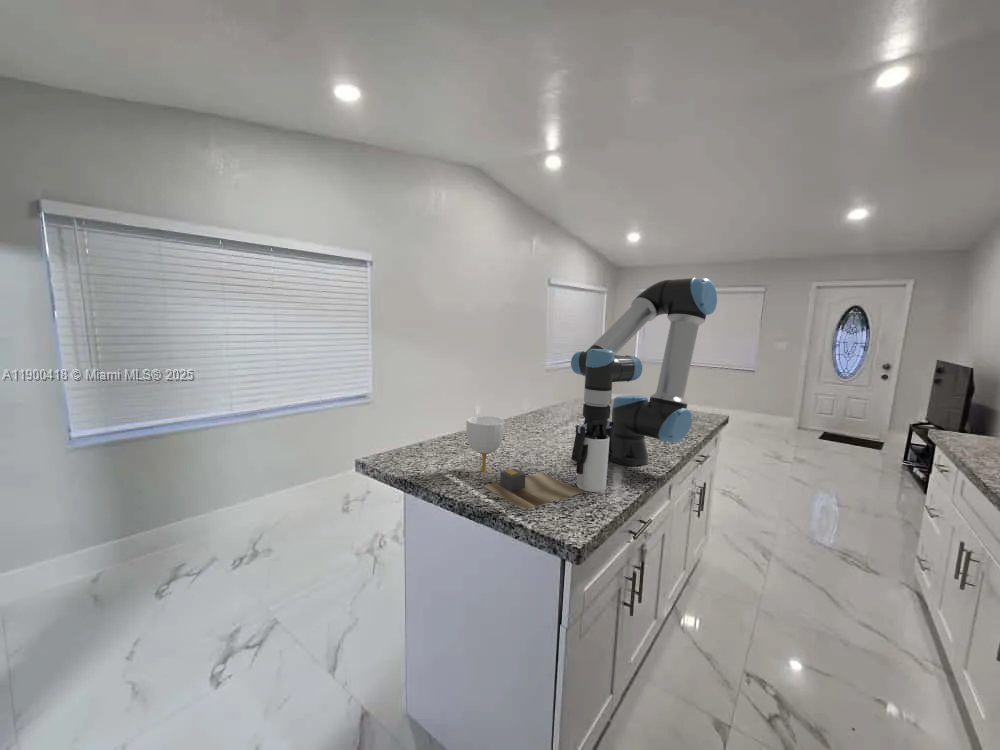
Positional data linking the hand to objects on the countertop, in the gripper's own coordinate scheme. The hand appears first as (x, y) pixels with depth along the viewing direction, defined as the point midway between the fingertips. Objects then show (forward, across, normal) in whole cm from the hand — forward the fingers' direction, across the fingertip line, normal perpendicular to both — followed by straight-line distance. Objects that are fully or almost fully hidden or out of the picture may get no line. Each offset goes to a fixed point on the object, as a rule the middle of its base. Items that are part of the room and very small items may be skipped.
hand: (591, 481), depth 122 cm
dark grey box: (+1, +20, -11) cm, 23 cm away
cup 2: (+3, 0, 0) cm, 3 cm away
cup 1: (+3, +20, -26) cm, 33 cm away
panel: (+2, +16, -7) cm, 18 cm away
